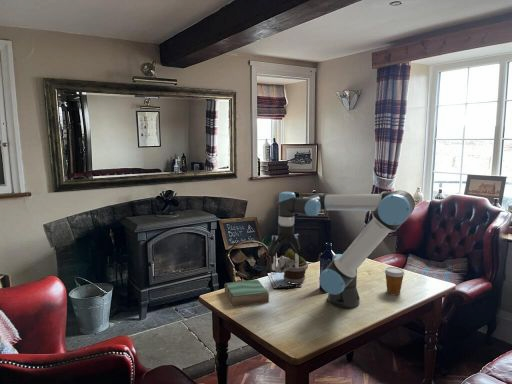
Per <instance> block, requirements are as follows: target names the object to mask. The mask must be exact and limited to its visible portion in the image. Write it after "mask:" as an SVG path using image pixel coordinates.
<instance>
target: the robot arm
mask: <svg viewBox="0 0 512 384" xmlns="http://www.w3.org/2000/svg"><path fill="white" fill-rule="evenodd" d="M278 195H279V197H278V220H277V221H278V226H277V227H278V228H277V229H278V230H277V235H274V234H272V235H271V241H270V244H269V246H268V248H267V251H266V256H268V257H269V261H270V264H271V270H272V271H275V269H276V254H277V252H278V251H279V249H280V248H281V246H283V245H287V244H288V245H291V246H292V248H293V249H294V252H295V253H296V254H295V253H294V255H295V261H296V263H295V267H296V268H299V261H300V257H301V258H302V255H303V254H305V249H304V247H303V243H302V240H301V234H299V233H298V232H297V233H296V234H295V215H296V214H297V215H302V216H303V215H304V216H308V217H317V216H318V215H319V213H320V212H321V211H355V212H357V211H360V212H361V211H364V212H365V211H366V212H368V211H369V212H370V211H371V212H372V213H371V214H372V219H371V220H370V221H369V222H368V224H367V225H366V226H364V229H362V231H361V232H360V233H359V234H358V236H357V237H356V238H355V239H354V240H353V241H352V243H351V244H350V245H349V246H348V247H347V249H346V250H345V251H344V252H343V253H342V254H341V253H337V254H333V255H332V258H331V260H332V261H331V262H330V263H329V265H328V266H327V267H326V268H325V269H323V270H322V271H321V273H320V275H319V285H320V287H321V289H323V291H325V292H326V293H328V295H327V302H328V303H329V305H332V306H334V307H336V308H343V309H352V308H357V307H358V306H360V304H361V303H360V302H361V300H360V299H361V298H360V295H359V292H358V291H359V290H358V287H357V281H358V278H357V277H358V269H359V268H360V266H361V265H362V264H363V263H364V262H365V261H366V260H367V258H368V257H369V256H370V255H371V254H372V252H374V250H375V249H376V248H377V247H378V246H379V245H380V243H382V241H383V240H384V239H385V238H386V237H387V236H388V234H389V233H391V232H396V231H397V230H399V228H400V227H401V226H402V225H403V223H406V221H407V220H408V219H409V217H410V215H411V214H412V213H413V212H414V211H415V207H416V202H415V198H414V197H413V195H412V194H411V193H409V192H407V191H405V190H394V191H393V190H392V191H391V190H389V191H382V192H380V193H359V194H358V193H357V194H354V193H353V194H351V193H349V194H347V193H346V194H324V193H316V194H313V195H311V196H309V197H306V198H303V197H296V193H295V192H292V191H282V192H280V193H279V194H278ZM294 239H296V242H297V245H298V247H297V245H296V243H295V242H294ZM277 240H278V241H277ZM276 241H277V243H276Z"/></svg>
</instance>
